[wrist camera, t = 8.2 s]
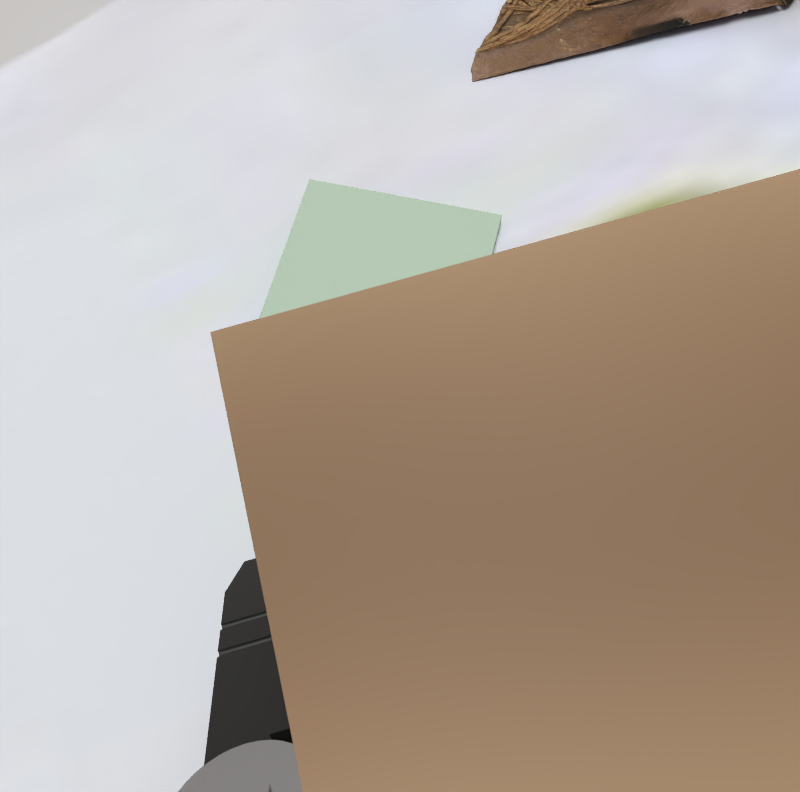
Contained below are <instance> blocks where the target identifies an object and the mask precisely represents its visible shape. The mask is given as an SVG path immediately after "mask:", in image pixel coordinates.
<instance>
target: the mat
mask: <svg viewBox="0 0 800 792" xmlns="http://www.w3.org/2000/svg"><path fill="white" fill-rule="evenodd" d="M501 216H502V215H498V214H493V213H488V212H482V211H477V210H472V209H466V208H461V207H455V206H450V205H445V204H439V203H434V202H428V201H423V200H418V199H412V198H407V197H402V196H396V195H391V194H385V193H380V192H375V191H369V190H364V189H358V188H353V187H348V186H342V185H337V184H332V183H326V182H321V181H315V180H309V182H308V185H307V188H306V191H305V194H304V196H303V199H302V202H301V205H300V207H299V210H298V213H297V216H296V218H295V221H294V224H293V227H292V229H291V232H290V235H289V238H288V241H287V243H286V246H285V249H284V252H283V254H282V257H281V260H280V263H279V265H278V268H277V271H276V274H275V276H274V279H273V282H272V285H271V288H270V290H269V293H268V296H267V299H266V301H265V304H264V307H263V310H262V312H261V315H260V318H264V317H267V316H271V315H275V314H278V313H282V312H285V311H289V310H293V309H296V308H300V307H303V306H307V305H311V304H314V303H318V302H321V301H325V300H329V299H332V298H336V297H340V296H343V295H347V294H350V293H354V292H358V291H361V290H365V289H368V288H372V287H376V286H379V285H383V284H387V283H390V282H394V281H397V280H401V279H405V278H408V277H412V276H415V275H419V274H423V273H426V272H430V271H433V270H437V269H441V268H444V267H448V266H452V265H455V264H459V263H462V262H466V261H470V260H473V259H477V258H480V257H484V256H488V255H491V254H493V251H494V247H495V243H496V239H497V235H498V231H499V227H500V223H501ZM260 318H259V319H260Z"/></svg>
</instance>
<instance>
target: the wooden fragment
mask: <svg viewBox="0 0 800 792" xmlns="http://www.w3.org/2000/svg"><path fill="white" fill-rule="evenodd" d="M782 1H784V2H783V3H784V4H783V3H782ZM782 1H781V0H507V1H506V3H505V4H504V5H503V6H502V10H501V11H500V14H499V16H498V20H497V22H496V24H495V26H494V28H493V29H492V31H491V32H490V33H489V34H488V35H487V36H486V38H485V39H484V41H483V43H482V45H481V46H480V48H478V49H477V50H476V55H475V59H474V61H473V64H472V68H471V72H472V82H474V81H477V80H479V79H484V78H488V77H492V76H497V75H501V74H504V73H508V72H512V71H514V70H518V69H522V68H526V67H529V66H533V65H537V64H541V63H546V62H549V61H552V60H555V59H560V58H565V57H569V56H572V55H576V54H581V53H585V52H590V51H594V50H597V49H600V48H605V47H607V46H612V45H615V44H619V43H622V42H625V41H629V40H632V39H635V38H637V37H643V36H646V35H650V34H652V33H655V32H659V31H664V30H669V29H672V28H677V27H680V26H684V25H691V24H694V23H699V22H705V21H708V20H713V19H718V18H722V17H726V16H730V15H733V14H736V13H740V14H741V13H742V12H743V11H744V12H747V10H748V9H760V8H765V7H769V6H772V5H788V4H790V3H792V2H793V0H782Z"/></svg>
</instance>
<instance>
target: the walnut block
mask: <svg viewBox="0 0 800 792" xmlns="http://www.w3.org/2000/svg"><path fill="white" fill-rule="evenodd" d="M211 337H212V342H213V347H214V352H215V357H216V362H217V367H218V372H219V377H220V382H221V387H222V392H223V397H224V402H225V407H226V412H227V417H228V422H229V427H230V432H231V437H232V442H233V447H234V452H235V457H236V462H237V467H238V472H239V477H240V482H241V487H242V491H243V496H244V501H245V506H246V511H247V516H248V521H249V526H250V531H251V536H252V541H253V546H254V551H255V556H256V561H257V566H258V571H259V576H260V581H261V586H262V591H263V596H264V601H265V606H266V611H267V616H268V621H269V626H270V631H271V636H272V641H273V646H274V651H275V656H276V661H277V666H278V671H279V676H280V681H281V686H282V691H283V696H284V701H285V706H286V711H287V716H288V721H289V726H290V731H291V736H292V741H293V746H294V751H295V756H296V761H297V766H298V771H299V776H300V781H301V786H302V791H303V792H800V169H798V170H795V171H791V172H788V173H784V174H780V175H777V176H773V177H769V178H766V179H762V180H759V181H755V182H751V183H748V184H744V185H741V186H737V187H733V188H730V189H726V190H722V191H719V192H715V193H712V194H708V195H704V196H701V197H697V198H694V199H690V200H686V201H683V202H679V203H676V204H672V205H668V206H665V207H661V208H657V209H654V210H650V211H647V212H643V213H639V214H636V215H632V216H629V217H625V218H621V219H618V220H614V221H610V222H607V223H603V224H600V225H596V226H592V227H589V228H585V229H582V230H578V231H574V232H571V233H567V234H564V235H560V236H556V237H553V238H549V239H545V240H542V241H538V242H535V243H531V244H527V245H524V246H520V247H517V248H513V249H509V250H506V251H502V252H498V253H495V254H491V255H488V256H484V257H480V258H477V259H473V260H470V261H466V262H462V263H459V264H455V265H452V266H448V267H444V268H441V269H437V270H433V271H430V272H426V273H423V274H419V275H415V276H412V277H408V278H405V279H401V280H397V281H394V282H390V283H387V284H383V285H379V286H376V287H372V288H368V289H365V290H361V291H358V292H354V293H350V294H347V295H343V296H340V297H336V298H332V299H329V300H325V301H321V302H318V303H314V304H311V305H307V306H303V307H300V308H296V309H293V310H289V311H285V312H282V313H278V314H275V315H271V316H267V317H264V318H260V319H256V320H253V321H249V322H246V323H242V324H238V325H235V326H231V327H228V328H224V329H220V330H217V331H213V332H211Z"/></svg>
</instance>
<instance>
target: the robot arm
mask: <svg viewBox="0 0 800 792" xmlns="http://www.w3.org/2000/svg"><path fill="white" fill-rule="evenodd" d="M221 625H222V630H220V638H219V647H218V652H219V657H217V663H216V672H215V680H214V688H213V697H212V705H211V713H210V721H209V730H208V738H207V746H206V755H205V763H204V766H203V767H202V768H201V769H199V770H198V771H197V772H196V773H195V774H194V775H193V776H192V777H191V778H190V779H189V780H188V781H187V782H186V783H185V784H184V785H183V787H182V788H181V789H180V791H179V792H303V791H302V786H301V781H300V776H299V771H298V766H297V761H296V756H295V751H294V746H293V741H292V736H291V731H290V726H289V721H288V716H287V711H286V706H285V701H284V696H283V691H282V686H281V681H280V676H279V671H278V666H277V661H276V656H275V651H274V646H273V641H272V636H271V631H270V626H269V621H268V616H267V611H266V606H265V601H264V596H263V591H262V586H261V581H260V576H259V571H258V566H257V561H256V558H255V559H252V560H248V561H245V562H244V563H243V565H242V566H241V568H240V570H239V571H238V573H237V574H236V576H235V577H234V579H233V581H232V582H231V584H230V585H229V587H228V589H227V590H226V592H225V597H224V605H223V613H222V622H221Z"/></svg>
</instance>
